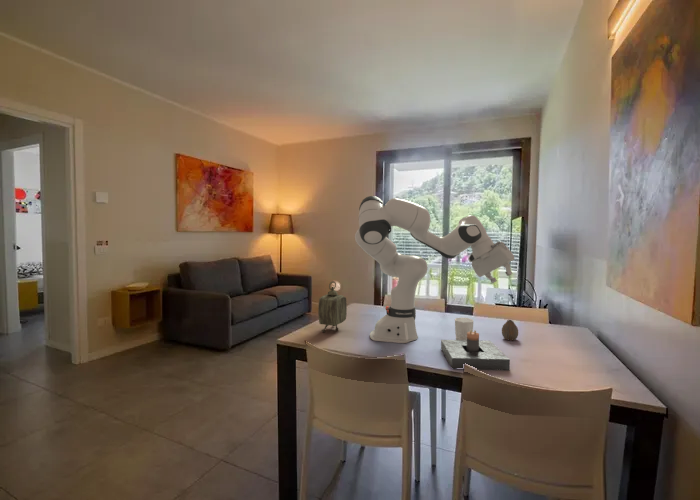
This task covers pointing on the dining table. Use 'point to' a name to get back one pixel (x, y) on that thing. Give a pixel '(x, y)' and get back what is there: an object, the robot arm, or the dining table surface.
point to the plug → (472, 341)
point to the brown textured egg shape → (510, 330)
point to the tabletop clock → (332, 308)
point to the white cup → (463, 328)
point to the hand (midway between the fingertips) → (502, 278)
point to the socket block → (475, 355)
